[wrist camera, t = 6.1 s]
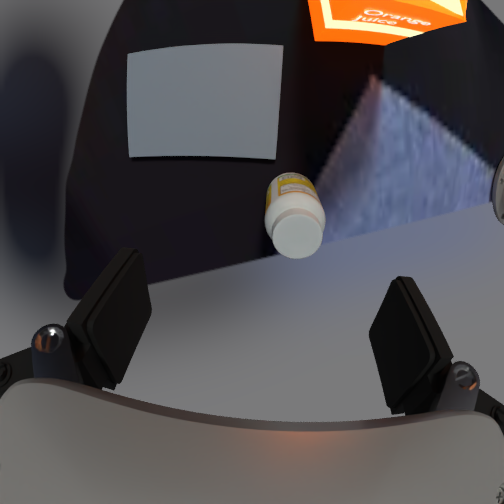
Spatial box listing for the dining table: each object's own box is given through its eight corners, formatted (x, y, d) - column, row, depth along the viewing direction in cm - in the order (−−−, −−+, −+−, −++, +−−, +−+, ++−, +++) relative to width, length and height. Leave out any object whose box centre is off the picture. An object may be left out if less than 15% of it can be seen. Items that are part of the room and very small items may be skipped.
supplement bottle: (293, 161, 28) (302, 191, 20) (325, 197, 30) (345, 239, 22) (255, 194, 30) (249, 235, 22) (288, 226, 32) (293, 277, 24)
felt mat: (282, 46, 22) (283, 45, 21) (275, 158, 28) (275, 159, 27) (130, 54, 22) (127, 54, 22) (131, 155, 28) (129, 157, 28)
